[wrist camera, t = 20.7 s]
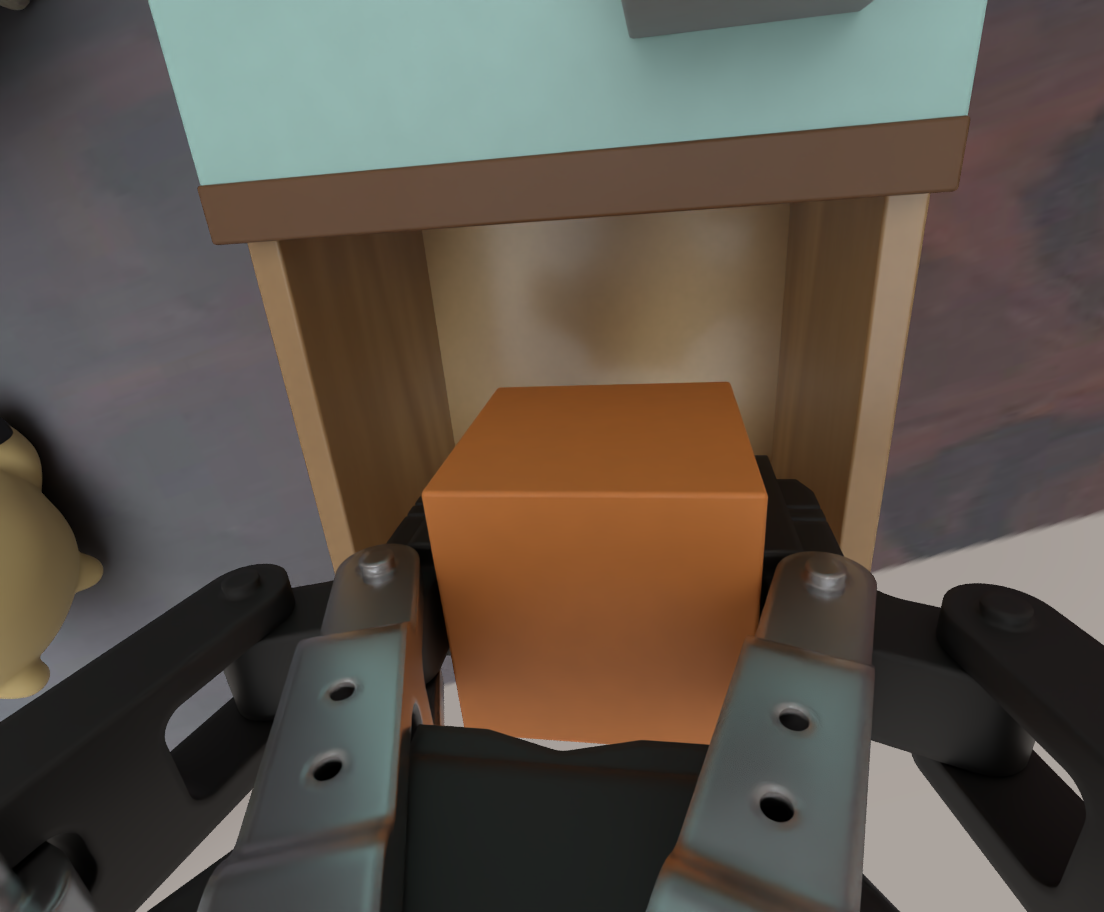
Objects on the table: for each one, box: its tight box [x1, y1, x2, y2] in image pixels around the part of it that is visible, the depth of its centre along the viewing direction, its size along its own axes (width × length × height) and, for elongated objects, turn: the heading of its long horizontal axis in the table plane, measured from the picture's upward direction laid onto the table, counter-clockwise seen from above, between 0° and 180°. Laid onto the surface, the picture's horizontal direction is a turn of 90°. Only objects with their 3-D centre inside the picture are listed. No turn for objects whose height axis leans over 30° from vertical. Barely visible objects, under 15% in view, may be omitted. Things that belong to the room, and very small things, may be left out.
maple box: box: [248, 193, 930, 574], centre depth 16 cm, size 12×14×9 cm
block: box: [422, 382, 768, 745], centre depth 11 cm, size 5×5×5 cm
